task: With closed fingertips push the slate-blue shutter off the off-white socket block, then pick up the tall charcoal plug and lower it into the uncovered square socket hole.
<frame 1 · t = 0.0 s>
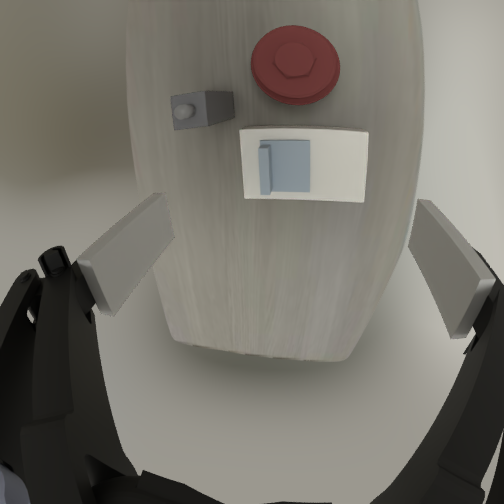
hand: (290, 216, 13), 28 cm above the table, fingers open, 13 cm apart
socket: (287, 158, 39), on the table
plug: (220, 105, 36), on the table
shutter: (285, 168, 34), point 6 cm above the table, slide at 0.0 cm
mechanical component: (297, 71, 32), on the table
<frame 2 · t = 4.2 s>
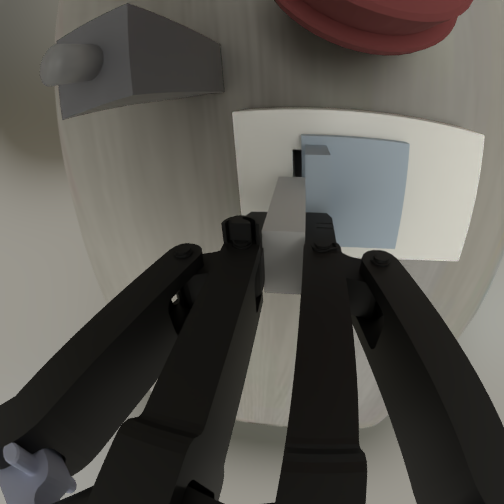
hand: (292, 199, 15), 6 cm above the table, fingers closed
socket: (328, 172, 20), on the table
plug: (196, 71, 17), on the table
shutter: (357, 202, 14), point 6 cm above the table, slide at 1.3 cm, touching gripper
mechanical component: (344, 9, 13), on the table
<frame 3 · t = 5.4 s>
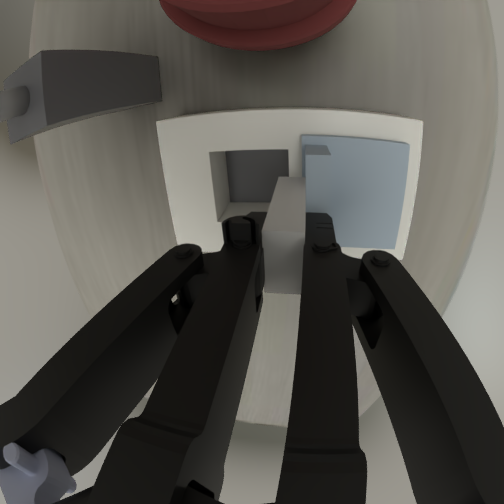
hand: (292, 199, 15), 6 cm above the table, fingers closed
socket: (259, 171, 21), on the table
plug: (139, 83, 18), on the table
shutter: (357, 202, 14), point 6 cm above the table, slide at 6.5 cm, touching gripper
mechanical component: (273, 8, 14), on the table
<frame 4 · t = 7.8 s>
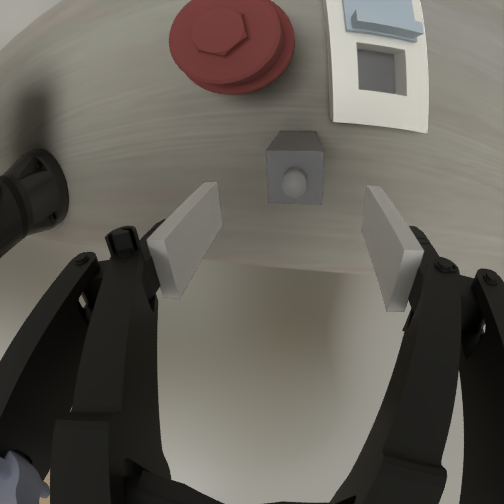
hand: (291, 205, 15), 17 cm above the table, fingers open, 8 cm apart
socket: (373, 71, 22), on the table
plug: (298, 148, 29), on the table
shutter: (382, 3, 14), point 6 cm above the table, slide at 6.7 cm
mechanical component: (250, 54, 24), on the table
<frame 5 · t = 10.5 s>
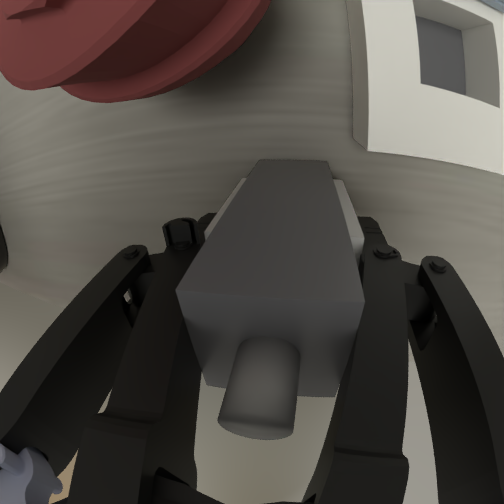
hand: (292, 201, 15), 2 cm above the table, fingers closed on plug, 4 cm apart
socket: (429, 55, 10), on the table
plug: (293, 191, 17), on the table, touching gripper
mechanical component: (204, 21, 12), on the table
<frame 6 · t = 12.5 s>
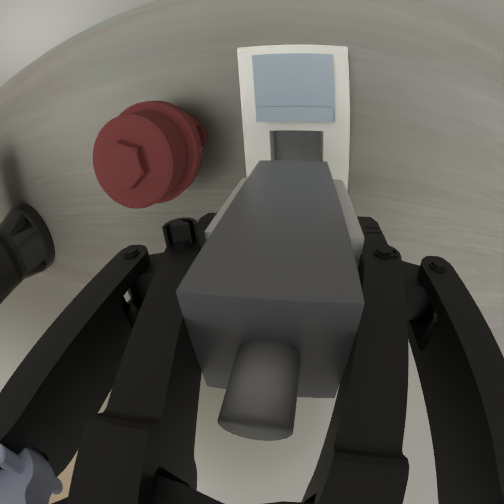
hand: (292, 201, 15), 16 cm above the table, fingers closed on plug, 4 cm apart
socket: (297, 148, 28), on the table
plug: (293, 191, 17), point 14 cm above the table, touching gripper
shutter: (293, 86, 20), point 6 cm above the table, slide at 6.7 cm
mechanical component: (182, 138, 30), on the table
when the fingers open (5 cm above the table, at t = 14.6 s): plug drops 3 cm, resting on socket.
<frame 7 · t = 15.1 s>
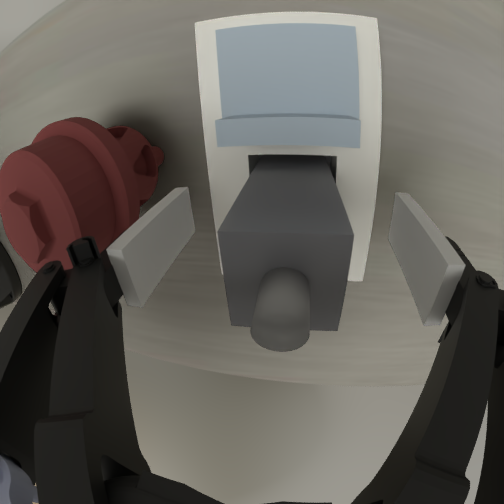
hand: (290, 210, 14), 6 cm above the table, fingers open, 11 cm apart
socket: (295, 176, 19), on the table
plug: (293, 178, 19), resting on socket
shutter: (287, 78, 11), point 6 cm above the table, slide at 6.7 cm
mechanical component: (133, 162, 21), on the table
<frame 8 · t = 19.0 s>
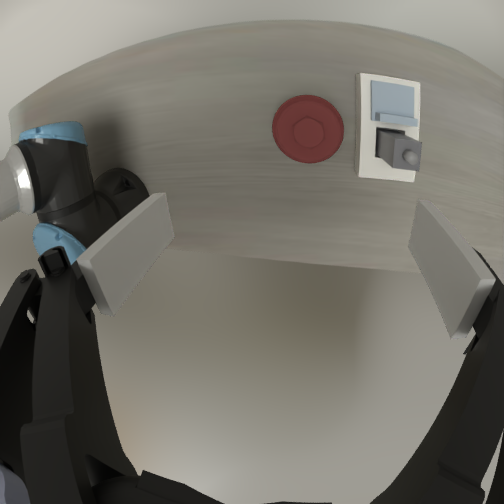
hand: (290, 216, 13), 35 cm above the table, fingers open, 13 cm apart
socket: (383, 139, 40), on the table
plug: (383, 140, 40), resting on socket
shutter: (395, 103, 31), point 6 cm above the table, slide at 6.7 cm
mechanical component: (307, 124, 42), on the table
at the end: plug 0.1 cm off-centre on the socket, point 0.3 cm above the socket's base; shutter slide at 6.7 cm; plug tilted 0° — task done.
